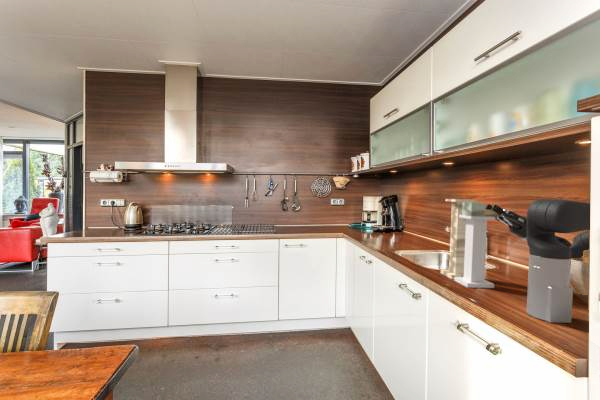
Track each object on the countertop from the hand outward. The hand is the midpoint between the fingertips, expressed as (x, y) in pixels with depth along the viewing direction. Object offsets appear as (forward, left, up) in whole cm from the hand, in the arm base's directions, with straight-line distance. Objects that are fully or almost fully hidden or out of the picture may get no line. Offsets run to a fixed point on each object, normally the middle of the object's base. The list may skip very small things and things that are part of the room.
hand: (489, 206), depth 117 cm
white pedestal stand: (0, +5, -30) cm, 30 cm away
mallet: (0, +1, -4) cm, 4 cm away
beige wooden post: (+11, +5, -30) cm, 32 cm away
